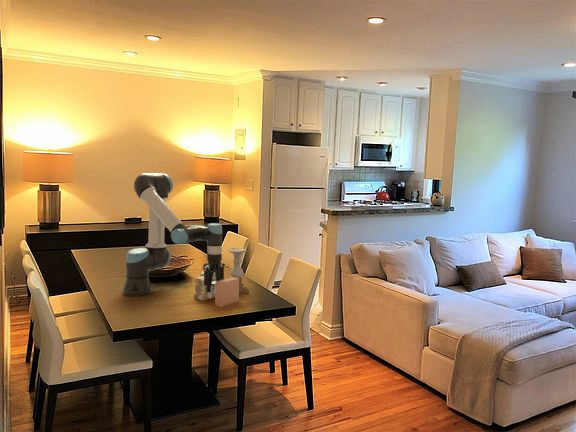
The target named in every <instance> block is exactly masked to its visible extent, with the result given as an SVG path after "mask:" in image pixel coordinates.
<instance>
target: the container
mask: <svg viewBox="0 0 576 432" xmlns="http://www.w3.org/2000/svg"><path fill="white" fill-rule="evenodd" d="M207 265H208V262H206V263H203V265H202V270H203V271H202V272H201V273H199V275H200V276H199V277H202V276H204V268H203V267H204V266H205V267H206V266H207ZM213 277H214V278H215V281H216V276H215V273H214V274H213Z"/></svg>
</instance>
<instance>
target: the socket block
mask: <svg viewBox="0 0 576 432" xmlns="http://www.w3.org/2000/svg"><path fill="white" fill-rule="evenodd" d="M239 298H240V294H239V278H235V277H232V276H230V277H228V278H224V279H223V280H219V281H216V292H215V297H214V299H215V300H214V302H215V303H214V305H215V306H218V307H221V308H222V307H225V306H228V305H231V304H235V303H239V300H240V299H239Z"/></svg>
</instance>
